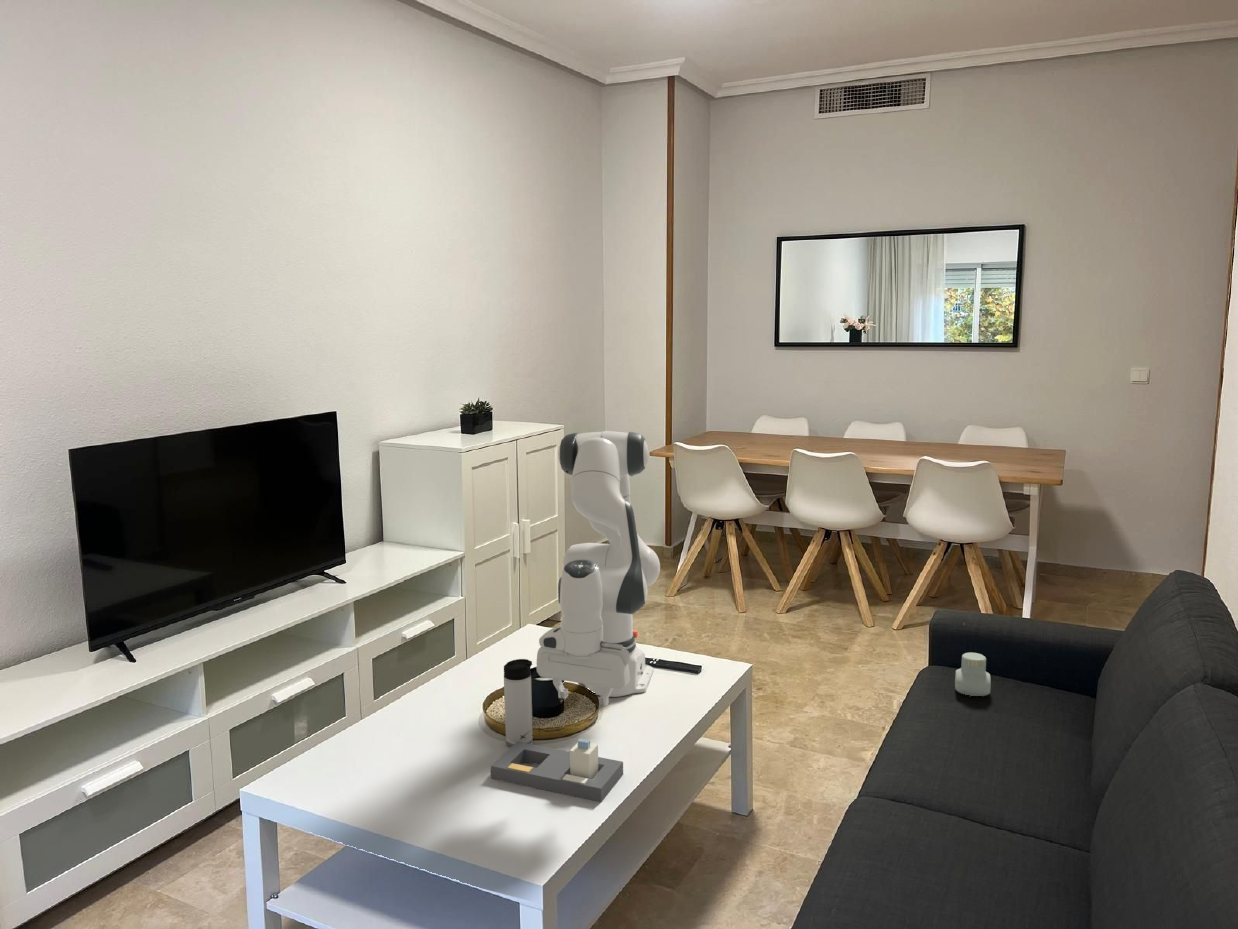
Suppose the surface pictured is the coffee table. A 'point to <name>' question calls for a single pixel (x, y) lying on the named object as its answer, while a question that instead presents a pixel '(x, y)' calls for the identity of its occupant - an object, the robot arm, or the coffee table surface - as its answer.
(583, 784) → the panel
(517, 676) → the travel mug
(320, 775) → the coffee table surface
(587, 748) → the plug
